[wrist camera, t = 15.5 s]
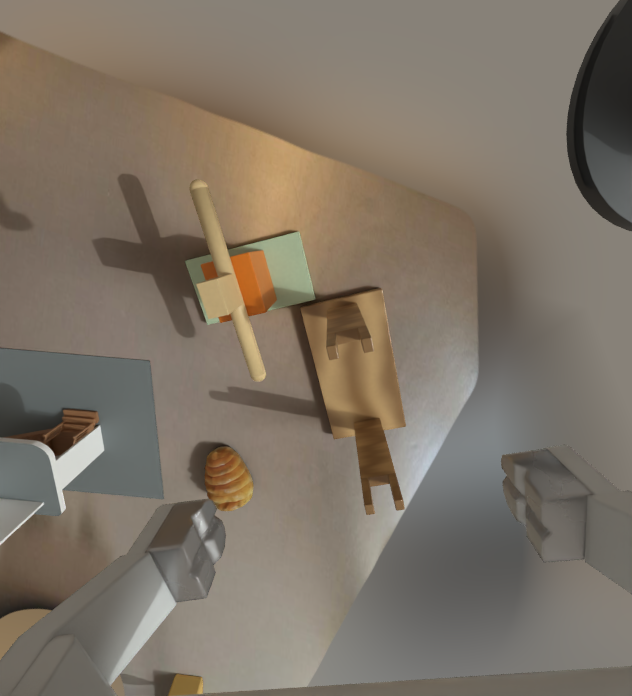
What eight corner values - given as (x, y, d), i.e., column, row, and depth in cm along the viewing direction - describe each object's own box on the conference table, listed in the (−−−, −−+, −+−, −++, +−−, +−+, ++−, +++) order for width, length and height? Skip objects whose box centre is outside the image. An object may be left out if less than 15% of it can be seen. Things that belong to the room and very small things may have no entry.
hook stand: (380, 287, 38) (411, 316, 24) (404, 421, 44) (441, 511, 30) (300, 306, 40) (283, 344, 25) (333, 434, 45) (335, 527, 31)
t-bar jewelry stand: (245, 186, 35) (199, 157, 23) (291, 351, 41) (274, 399, 28) (203, 198, 35) (135, 176, 23) (254, 359, 41) (222, 409, 29)
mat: (299, 231, 37) (298, 231, 36) (315, 298, 39) (315, 299, 38) (187, 260, 38) (184, 260, 38) (209, 323, 41) (207, 324, 40)
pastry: (199, 447, 47) (188, 464, 43) (243, 440, 46) (235, 457, 43) (217, 497, 50) (208, 517, 46) (258, 491, 49) (253, 511, 46)
